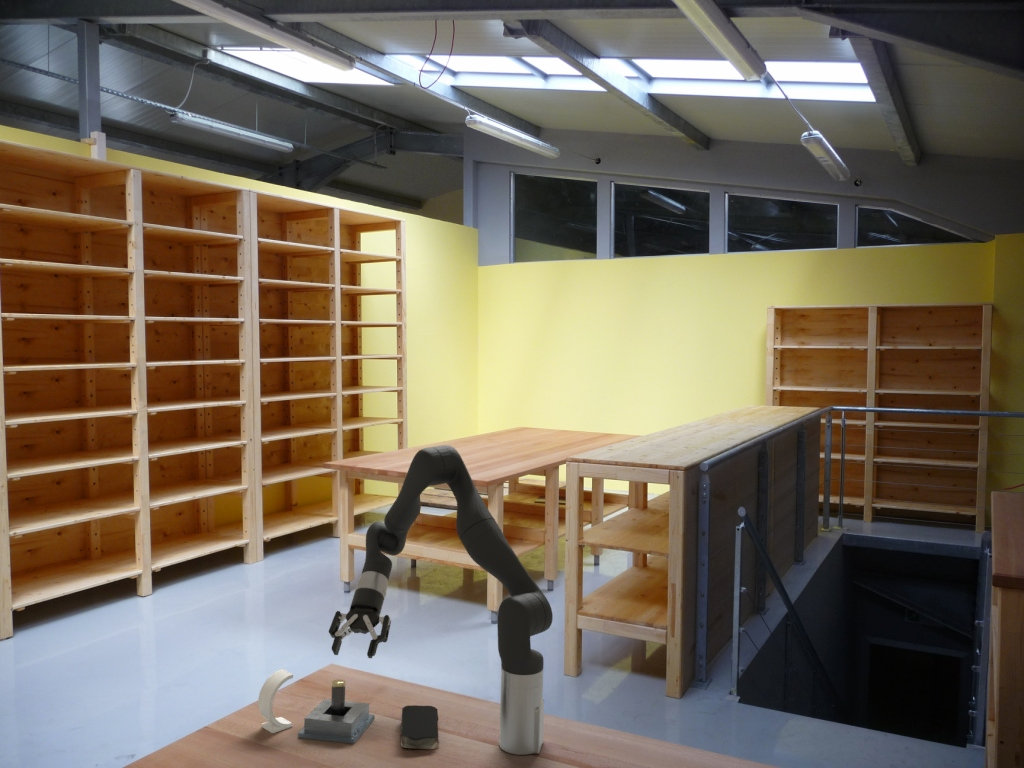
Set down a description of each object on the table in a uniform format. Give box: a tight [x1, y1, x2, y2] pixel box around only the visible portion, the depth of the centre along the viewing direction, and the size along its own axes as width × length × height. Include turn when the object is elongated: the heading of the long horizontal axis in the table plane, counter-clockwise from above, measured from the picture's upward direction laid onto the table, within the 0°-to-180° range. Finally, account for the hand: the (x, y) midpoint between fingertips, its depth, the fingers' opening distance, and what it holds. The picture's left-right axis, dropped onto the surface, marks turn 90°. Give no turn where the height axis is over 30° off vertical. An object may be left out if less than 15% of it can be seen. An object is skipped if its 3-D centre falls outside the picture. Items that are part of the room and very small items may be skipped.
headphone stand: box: [257, 668, 294, 734], centre depth 186 cm, size 5×6×12 cm
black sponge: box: [400, 704, 440, 750], centre depth 184 cm, size 16×8×4 cm, turn 6°
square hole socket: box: [297, 698, 376, 745], centre depth 186 cm, size 13×13×4 cm
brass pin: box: [331, 678, 346, 716], centre depth 186 cm, size 3×3×10 cm
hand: (352, 655), depth 195 cm, fingers open, 8 cm apart
